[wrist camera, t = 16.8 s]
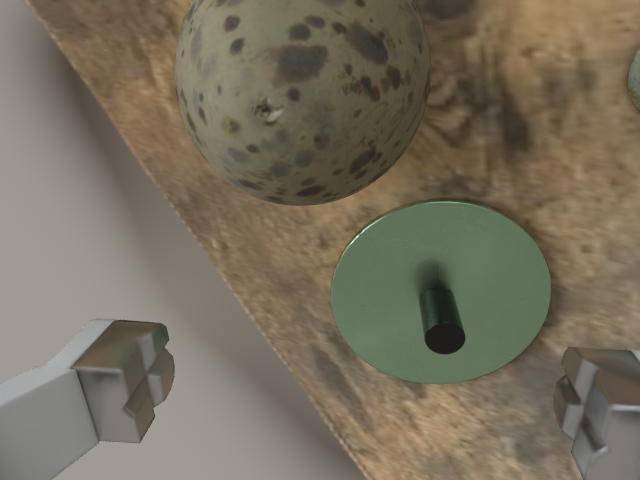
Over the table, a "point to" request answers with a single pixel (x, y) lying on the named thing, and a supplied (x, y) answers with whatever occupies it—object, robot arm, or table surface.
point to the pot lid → (440, 291)
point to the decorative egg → (302, 92)
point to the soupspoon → (635, 80)
